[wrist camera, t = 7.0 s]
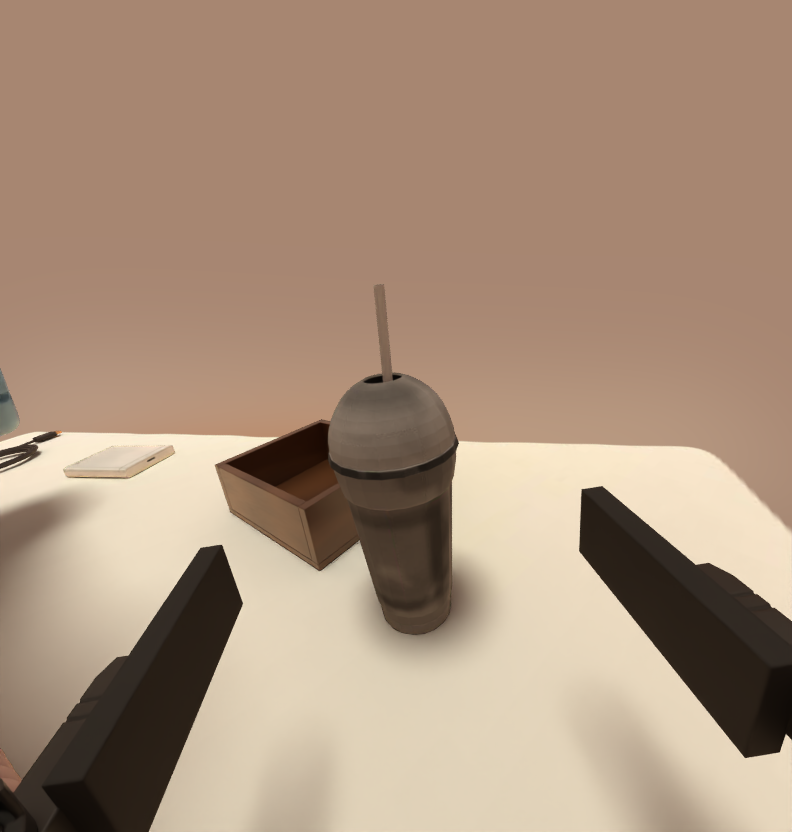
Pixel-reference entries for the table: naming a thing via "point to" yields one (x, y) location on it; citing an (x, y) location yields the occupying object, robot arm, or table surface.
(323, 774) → the table surface
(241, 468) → the box
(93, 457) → the hard drive
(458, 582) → the table surface
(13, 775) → the coil
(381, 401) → the beverage cup
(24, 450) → the cable
